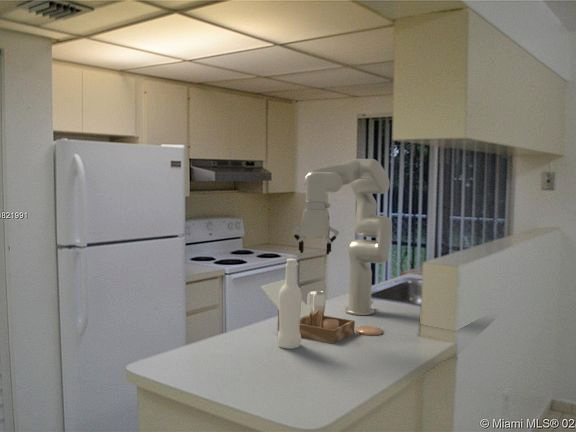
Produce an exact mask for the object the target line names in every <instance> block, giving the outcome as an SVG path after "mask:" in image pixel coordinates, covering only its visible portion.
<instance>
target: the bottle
mask: <svg viewBox="0 0 576 432" xmlns="http://www.w3.org/2000/svg"><path fill="white" fill-rule="evenodd" d="M297 262H298V261H297V259H296V258H287V259H286V263H285V277H284V278H285V279H284V280H285V284H284V285H283V286H282V288H281V289H280V292H279V320H280V330H279V331H278V333H277V338H276V339H277V345H278V347H280V348H282V349H286V350H294V349H297V348H299V347H301V345H302V344H301V342H302V337H301V334H300V330H299V328H300V315H301V303H302V300H303V293H302V290H301V288H300V286H298V284H297V267H298V264H297Z"/></svg>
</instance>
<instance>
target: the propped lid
mask: <svg viewBox="0 0 576 432" xmlns="http://www.w3.org/2000/svg"><path fill="white" fill-rule="evenodd" d="M284 284H285V279H281V280H277V281H274V282H270V283H266V284H263V285H259V289H260V290H261V291H262V292H263V293H264V294H265V296H266V297H267V298H268V299H269V300H270V302H271V303H272V304H273V305H274V306H275V308H277V331H278V332H279V330H280V320H279V292H280V289H281V288H282V286H283V285H284ZM305 316H308V313H307V303H305V301H304V300H303V299H302V303H301V315H300V318H303V317H305Z"/></svg>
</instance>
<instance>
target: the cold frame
mask: <svg viewBox="0 0 576 432" xmlns="http://www.w3.org/2000/svg"><path fill="white" fill-rule="evenodd" d="M325 319H335V320H338V321H339V327H337V328H335V329H333V330H331V329H326V328H320V327H315V326H310V325H308V323H309V321H308V316H305V317H303V318H300V328H299V330H300V334H301V338H304V339H309V340H313V341H314V340H315V341H320V342H323V343H324V342H325V343H328V344H335V343H337V342H339V341H341V340H343V339H346V338H347V337H348V336H350V335H353V334H354V333H355V327H356V326H355V320H351V319H346V318H341V317H335V316H330V315H324V317H323V320H325Z"/></svg>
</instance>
